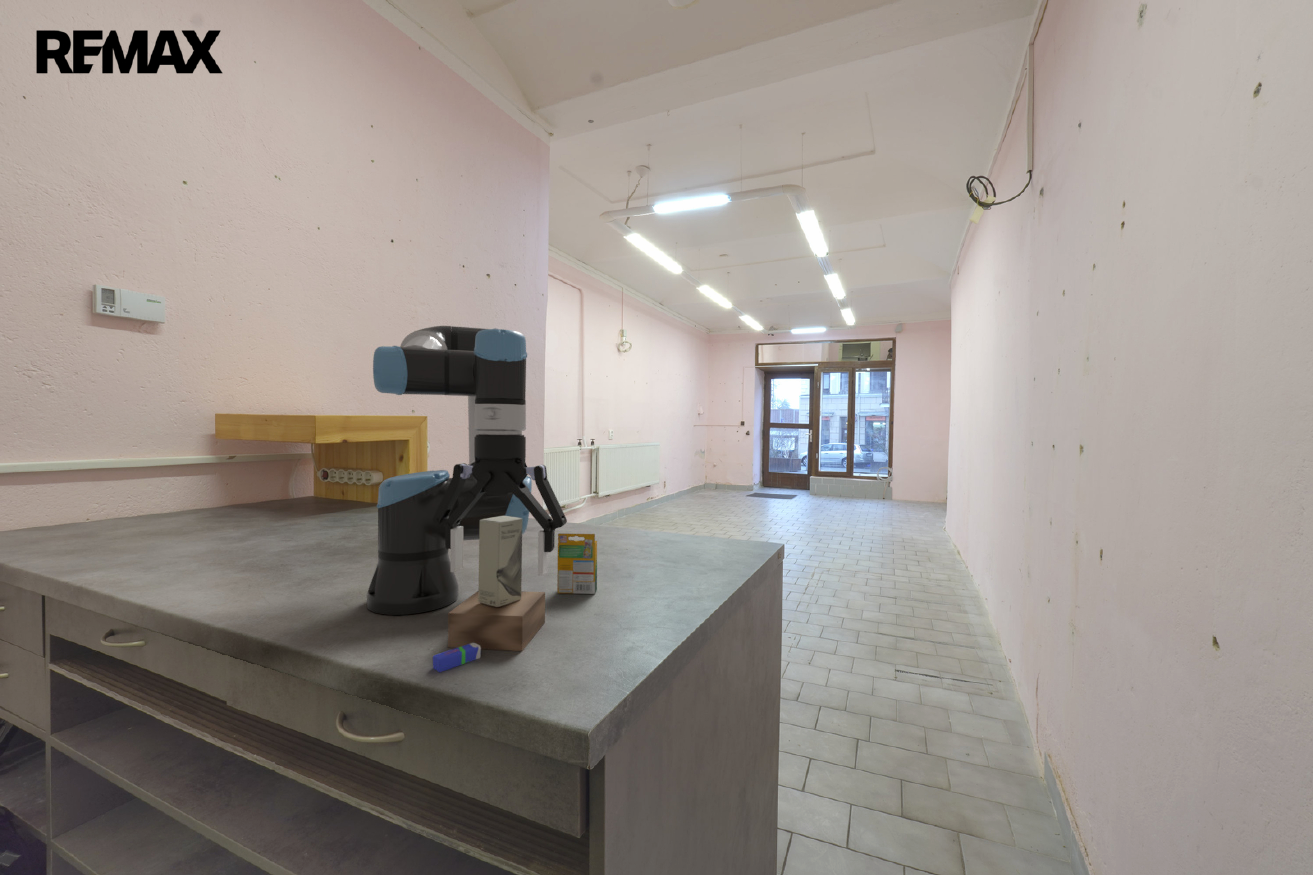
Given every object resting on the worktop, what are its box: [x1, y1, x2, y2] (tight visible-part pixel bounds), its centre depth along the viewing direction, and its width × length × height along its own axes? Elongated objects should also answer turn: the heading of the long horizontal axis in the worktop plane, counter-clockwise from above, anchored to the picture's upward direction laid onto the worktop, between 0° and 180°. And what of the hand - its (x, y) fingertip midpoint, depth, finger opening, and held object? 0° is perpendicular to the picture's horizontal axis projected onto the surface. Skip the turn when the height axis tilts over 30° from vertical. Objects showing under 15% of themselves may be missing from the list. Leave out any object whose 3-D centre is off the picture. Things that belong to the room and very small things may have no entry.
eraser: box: [432, 643, 482, 673], centre depth 72 cm, size 2×6×2 cm, turn 139°
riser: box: [447, 590, 546, 652], centre depth 82 cm, size 11×11×5 cm
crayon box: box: [556, 532, 598, 595], centre depth 103 cm, size 7×3×12 cm, turn 88°
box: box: [477, 516, 523, 607], centre depth 82 cm, size 5×4×13 cm
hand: (499, 571), depth 82 cm, fingers open, 13 cm apart
